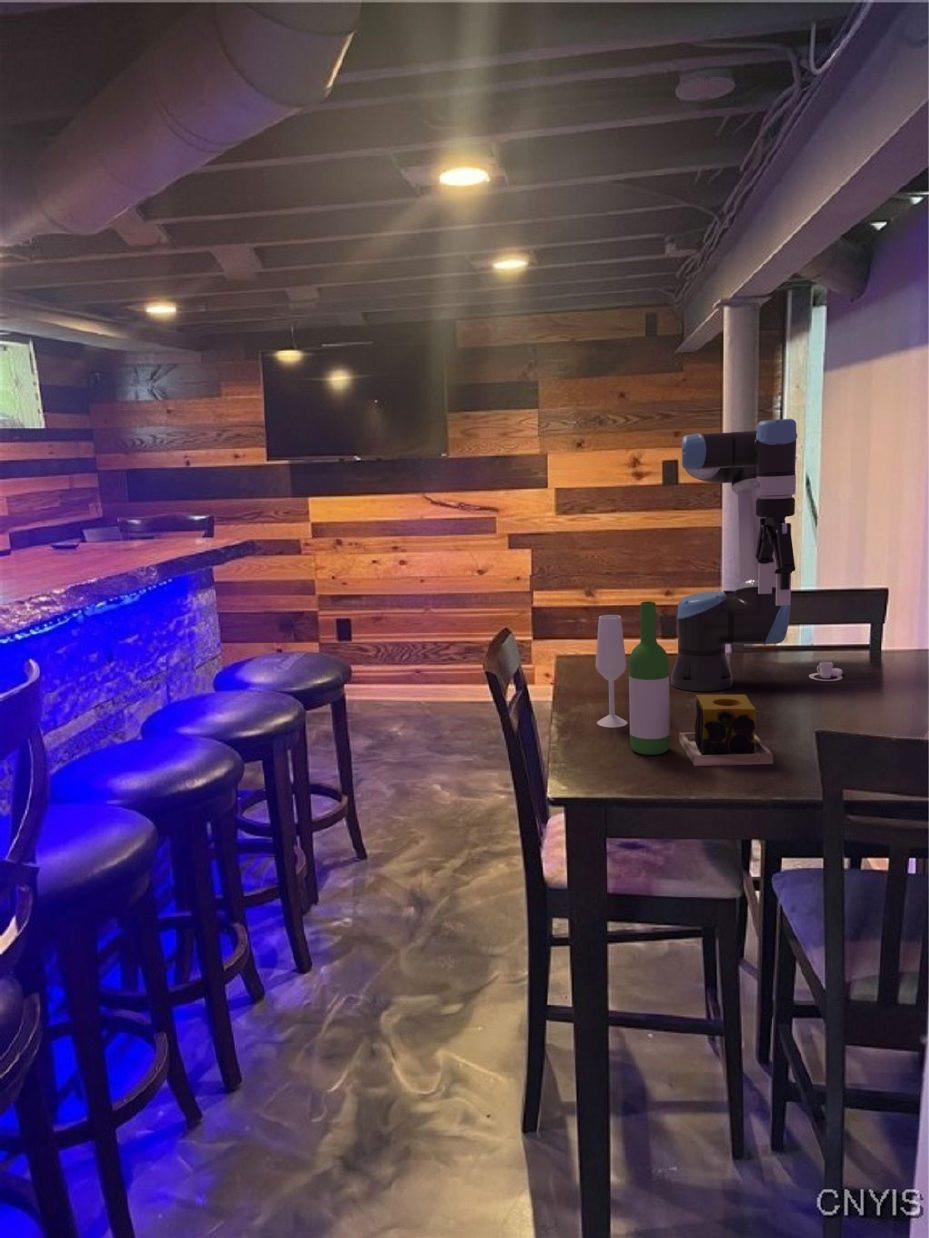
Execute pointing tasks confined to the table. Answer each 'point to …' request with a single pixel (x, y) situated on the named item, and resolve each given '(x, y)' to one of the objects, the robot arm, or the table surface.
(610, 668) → the champagne flute
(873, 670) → the table surface
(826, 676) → the teacup and saucer
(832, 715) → the table surface
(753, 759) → the slot frame
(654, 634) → the wine bottle
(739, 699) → the candle
